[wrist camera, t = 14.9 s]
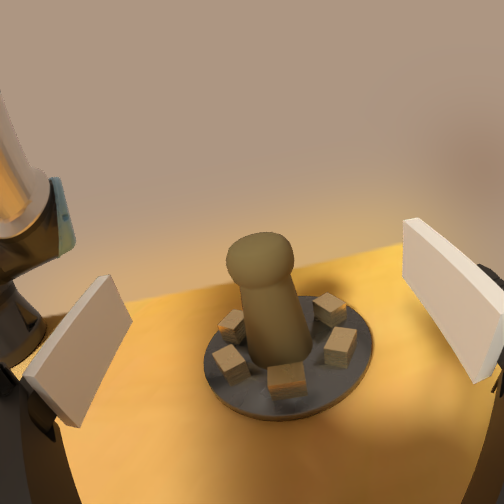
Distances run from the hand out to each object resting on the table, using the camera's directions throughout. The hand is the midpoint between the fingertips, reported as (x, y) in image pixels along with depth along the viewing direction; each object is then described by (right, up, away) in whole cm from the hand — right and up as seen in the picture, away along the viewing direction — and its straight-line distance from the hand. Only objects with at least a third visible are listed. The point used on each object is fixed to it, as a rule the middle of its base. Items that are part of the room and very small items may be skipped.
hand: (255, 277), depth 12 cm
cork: (+3, -8, +14) cm, 17 cm away
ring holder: (+3, -9, +15) cm, 17 cm away
